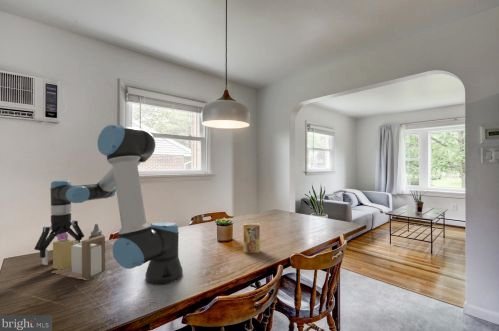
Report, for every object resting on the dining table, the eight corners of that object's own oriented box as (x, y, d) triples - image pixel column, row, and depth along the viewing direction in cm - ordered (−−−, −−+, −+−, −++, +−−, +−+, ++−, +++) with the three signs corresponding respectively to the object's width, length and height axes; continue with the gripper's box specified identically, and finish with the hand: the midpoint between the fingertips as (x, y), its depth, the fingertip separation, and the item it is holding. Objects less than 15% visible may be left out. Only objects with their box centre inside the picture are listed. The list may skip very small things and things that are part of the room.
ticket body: (105, 270, 109) (104, 236, 109) (86, 278, 101) (86, 241, 101) (86, 266, 113) (86, 233, 113) (67, 274, 105) (67, 238, 105)
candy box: (259, 250, 136) (259, 223, 136) (259, 252, 131) (259, 225, 131) (243, 250, 135) (243, 223, 135) (243, 253, 131) (243, 225, 131)
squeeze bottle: (103, 255, 128) (103, 221, 128) (107, 259, 122) (107, 224, 122) (85, 259, 122) (85, 224, 122) (88, 264, 117) (88, 227, 116)
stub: (73, 265, 114) (73, 239, 114) (61, 269, 109) (61, 243, 109) (64, 263, 116) (64, 238, 116) (53, 267, 111) (52, 241, 111)
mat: (111, 269, 110) (111, 269, 110) (86, 282, 99) (86, 281, 99) (75, 262, 118) (75, 261, 118) (47, 273, 107) (47, 272, 107)
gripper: (81, 208, 125) (82, 248, 126) (23, 218, 102) (24, 268, 102) (92, 209, 123) (92, 250, 123) (35, 220, 99) (35, 270, 100)
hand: (61, 258), depth 113 cm, fingers open, 13 cm apart
